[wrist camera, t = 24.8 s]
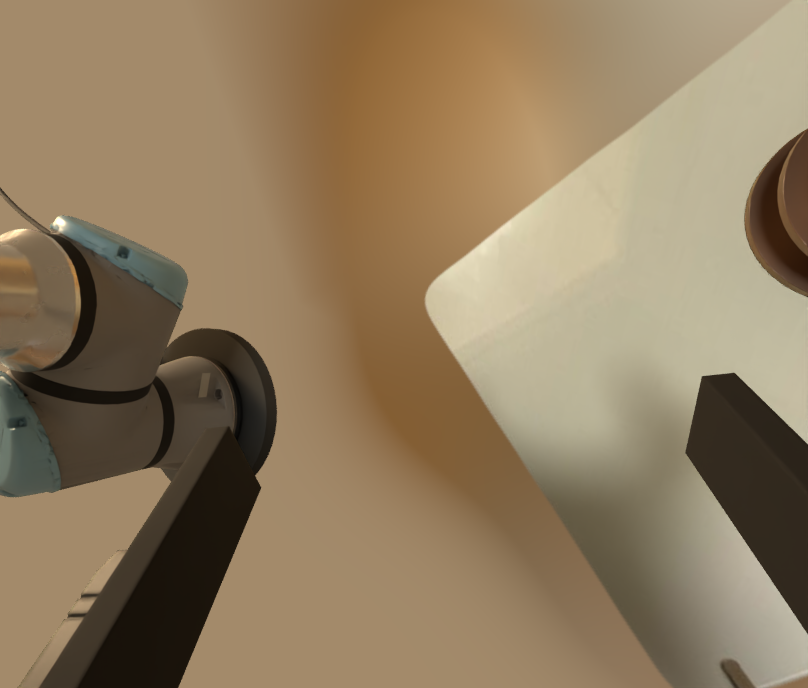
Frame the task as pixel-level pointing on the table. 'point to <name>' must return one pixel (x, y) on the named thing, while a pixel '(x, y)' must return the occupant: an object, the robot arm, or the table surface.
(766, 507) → the robot arm
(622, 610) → the table surface
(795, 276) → the stand
